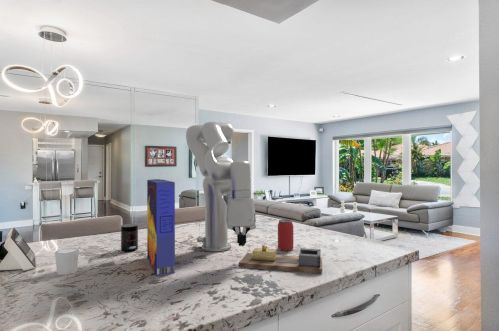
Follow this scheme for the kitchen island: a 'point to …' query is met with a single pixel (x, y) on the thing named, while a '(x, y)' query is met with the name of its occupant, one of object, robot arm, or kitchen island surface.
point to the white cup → (66, 261)
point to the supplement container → (129, 237)
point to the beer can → (285, 235)
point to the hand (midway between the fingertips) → (241, 245)
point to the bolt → (265, 253)
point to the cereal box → (161, 226)
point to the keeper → (310, 257)
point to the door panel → (279, 264)
